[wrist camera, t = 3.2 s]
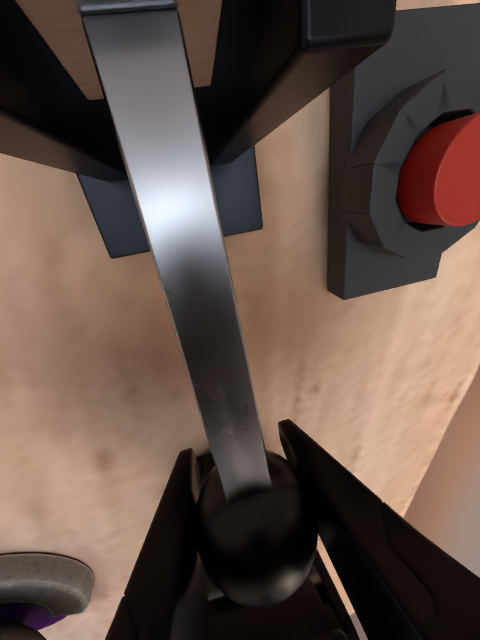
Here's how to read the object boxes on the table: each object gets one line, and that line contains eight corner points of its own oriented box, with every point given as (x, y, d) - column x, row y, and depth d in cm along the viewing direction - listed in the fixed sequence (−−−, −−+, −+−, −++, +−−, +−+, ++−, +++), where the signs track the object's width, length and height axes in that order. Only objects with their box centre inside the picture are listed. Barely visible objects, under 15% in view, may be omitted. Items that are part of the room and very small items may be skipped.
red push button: (459, 215, 11) (504, 217, 10) (390, 229, 11) (425, 234, 9) (484, 116, 9) (542, 100, 8) (403, 129, 9) (448, 114, 8)
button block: (415, 269, 16) (472, 286, 13) (323, 291, 15) (360, 315, 12) (461, 27, 11) (575, -44, 8) (325, 41, 10) (390, -31, 7)
